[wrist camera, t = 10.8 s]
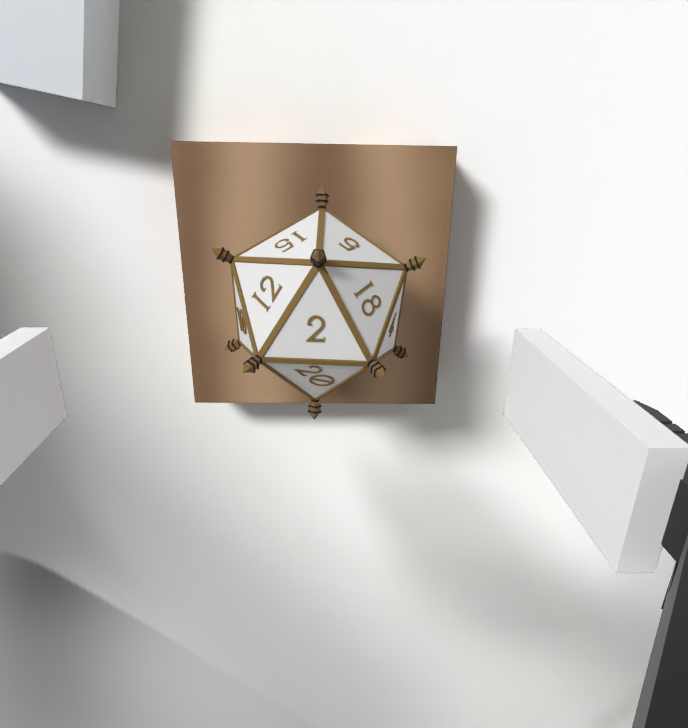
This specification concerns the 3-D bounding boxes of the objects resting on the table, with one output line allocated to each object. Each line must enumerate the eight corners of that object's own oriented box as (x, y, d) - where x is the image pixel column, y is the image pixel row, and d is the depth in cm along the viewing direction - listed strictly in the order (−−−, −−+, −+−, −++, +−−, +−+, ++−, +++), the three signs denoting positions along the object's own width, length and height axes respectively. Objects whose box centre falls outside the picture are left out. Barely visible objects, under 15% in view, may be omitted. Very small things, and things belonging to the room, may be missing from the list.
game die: (356, 276, 30) (476, 385, 24) (226, 356, 28) (319, 495, 22) (317, 126, 23) (472, 224, 17) (142, 219, 21) (243, 367, 15)
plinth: (207, 380, 31) (195, 402, 28) (187, 142, 26) (169, 141, 24) (425, 381, 32) (434, 403, 29) (444, 147, 27) (457, 146, 24)
